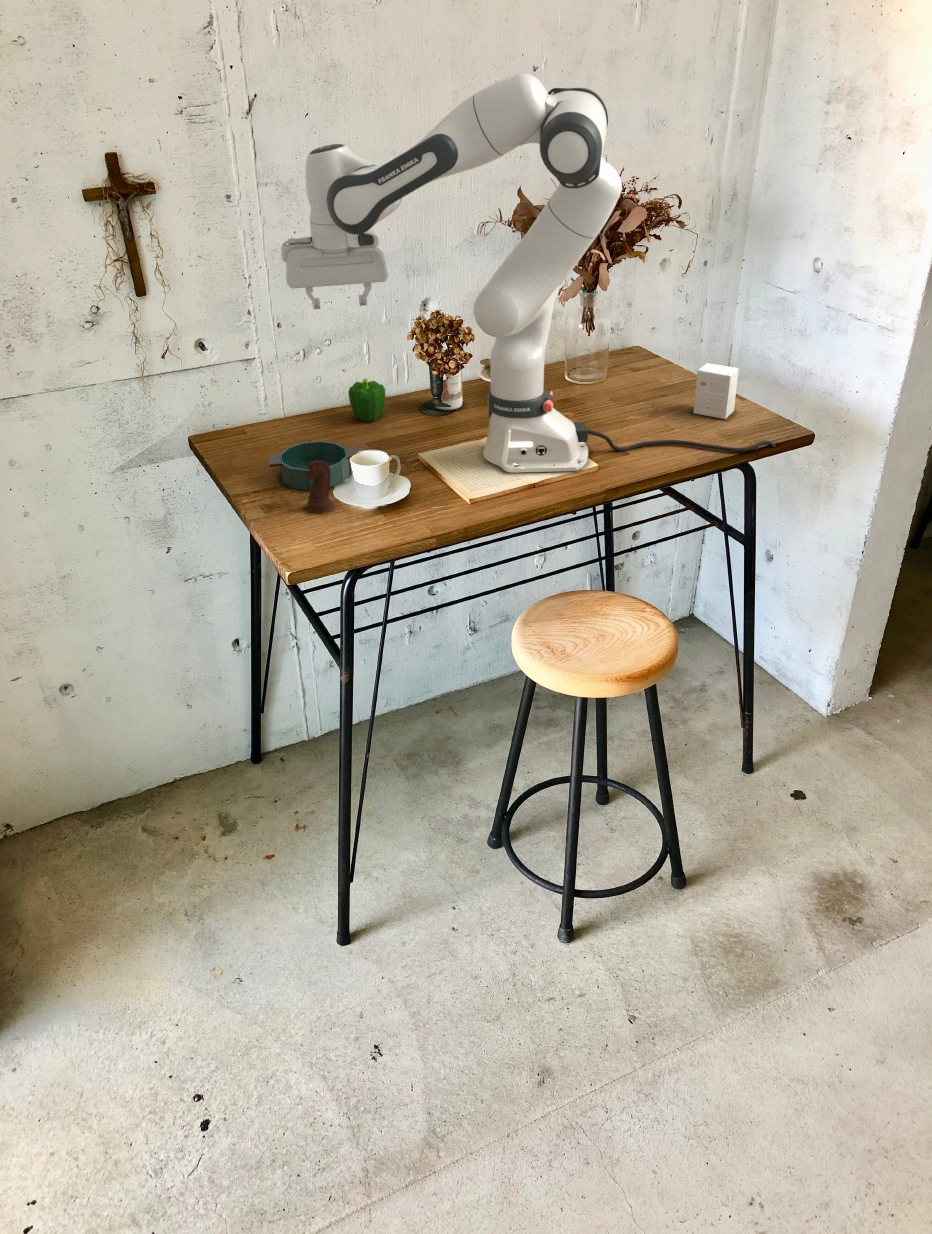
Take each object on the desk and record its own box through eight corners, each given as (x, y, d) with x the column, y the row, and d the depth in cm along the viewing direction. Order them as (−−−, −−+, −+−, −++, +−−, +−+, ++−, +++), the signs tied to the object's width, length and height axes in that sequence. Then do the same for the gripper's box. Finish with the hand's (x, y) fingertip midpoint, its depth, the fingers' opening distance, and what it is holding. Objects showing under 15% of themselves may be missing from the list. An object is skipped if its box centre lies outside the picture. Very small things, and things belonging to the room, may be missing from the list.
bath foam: (443, 413, 239) (440, 329, 227) (428, 404, 243) (424, 321, 232) (468, 406, 242) (466, 323, 231) (452, 397, 246) (450, 315, 235)
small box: (734, 411, 236) (740, 368, 230) (725, 420, 232) (731, 375, 226) (701, 405, 240) (706, 362, 234) (692, 413, 236) (697, 369, 230)
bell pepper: (360, 409, 242) (357, 368, 236) (391, 413, 239) (389, 372, 233) (344, 422, 235) (340, 380, 230) (376, 427, 233) (373, 385, 227)
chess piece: (305, 504, 201) (300, 458, 196) (330, 500, 203) (326, 454, 197) (311, 514, 198) (305, 467, 192) (336, 510, 199) (331, 463, 193)
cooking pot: (363, 485, 208) (361, 464, 205) (273, 494, 205) (270, 474, 203) (355, 456, 219) (354, 437, 217) (270, 465, 217) (267, 445, 214)
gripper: (280, 243, 194) (289, 315, 202) (387, 235, 197) (391, 307, 205) (279, 235, 199) (287, 305, 207) (382, 228, 202) (387, 298, 210)
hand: (339, 306), depth 206 cm, fingers open, 8 cm apart
